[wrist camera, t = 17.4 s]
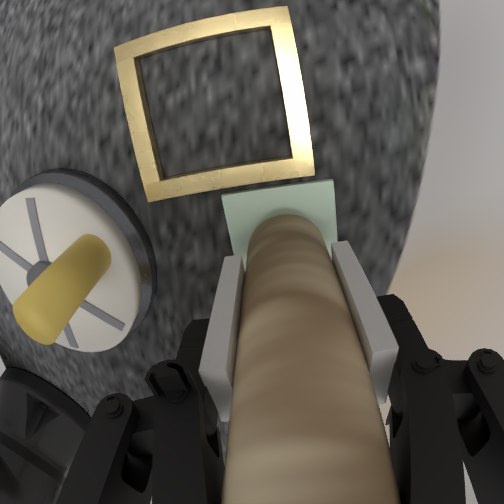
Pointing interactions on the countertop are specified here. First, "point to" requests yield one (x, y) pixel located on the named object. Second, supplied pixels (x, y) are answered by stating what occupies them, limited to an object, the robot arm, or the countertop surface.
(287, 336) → the dowel
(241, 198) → the coaster
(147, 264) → the wheel base
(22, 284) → the handwheel
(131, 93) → the square gold frame
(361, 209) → the countertop surface
